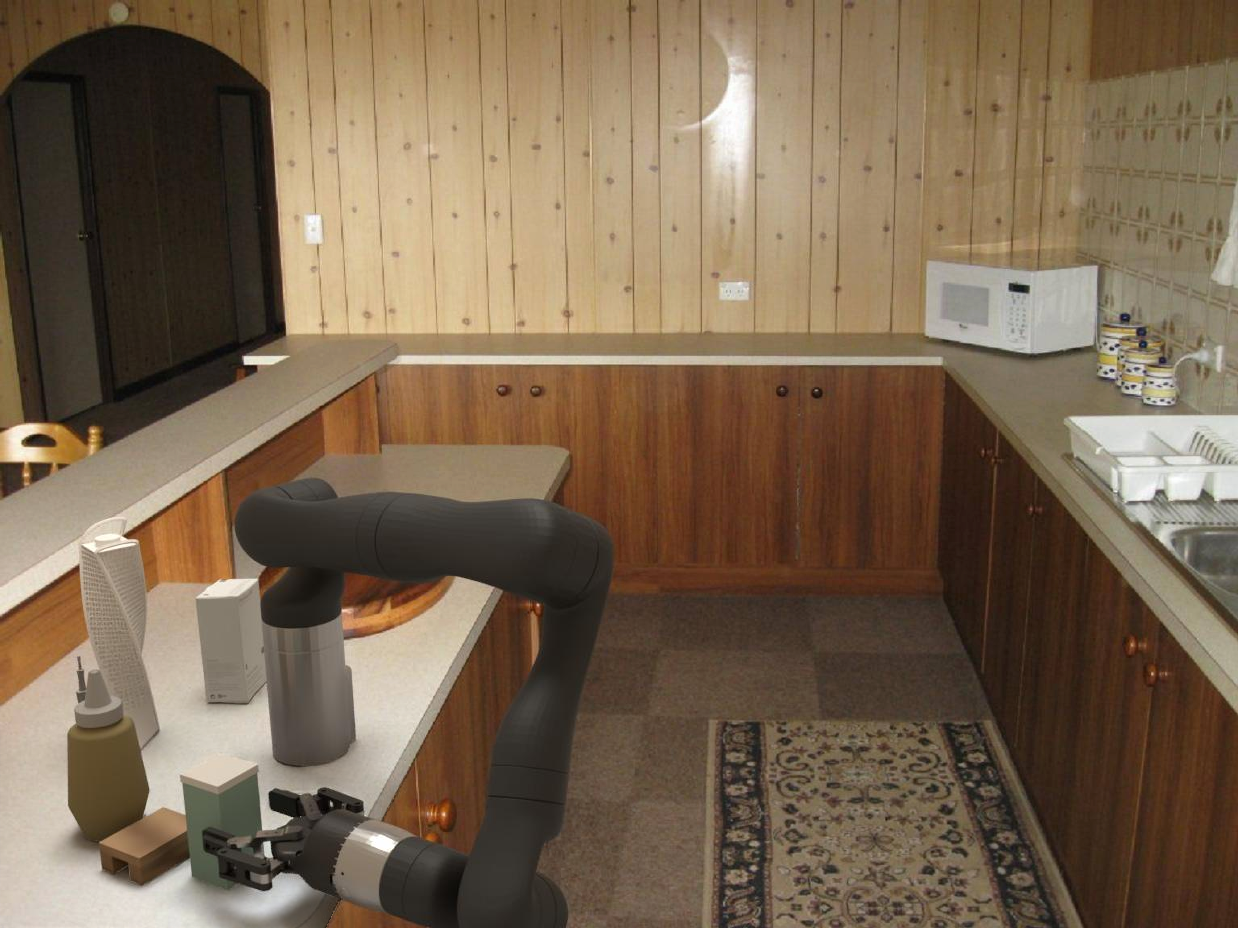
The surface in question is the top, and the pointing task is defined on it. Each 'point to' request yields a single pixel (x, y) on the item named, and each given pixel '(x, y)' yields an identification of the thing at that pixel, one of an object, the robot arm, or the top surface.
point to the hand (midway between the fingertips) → (239, 817)
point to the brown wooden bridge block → (147, 846)
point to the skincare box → (231, 640)
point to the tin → (220, 809)
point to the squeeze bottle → (104, 765)
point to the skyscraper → (117, 623)
